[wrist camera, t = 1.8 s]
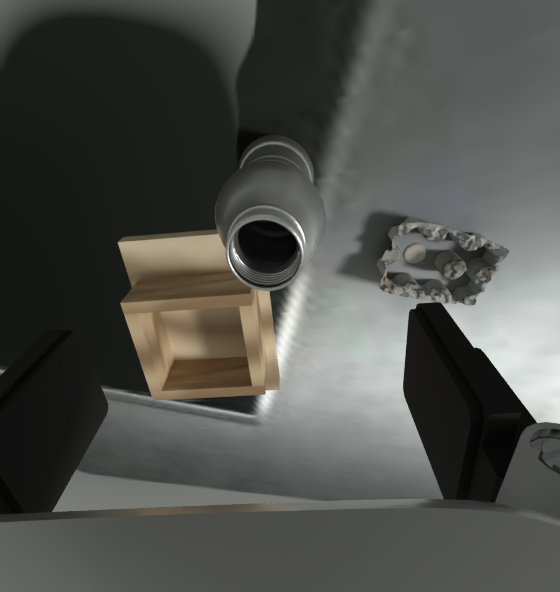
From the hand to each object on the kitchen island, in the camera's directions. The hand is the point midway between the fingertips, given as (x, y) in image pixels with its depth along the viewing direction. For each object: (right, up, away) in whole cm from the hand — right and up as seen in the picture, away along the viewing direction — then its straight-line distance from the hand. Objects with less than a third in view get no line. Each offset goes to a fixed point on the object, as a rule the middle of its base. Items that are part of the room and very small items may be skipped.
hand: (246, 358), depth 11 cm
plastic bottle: (+1, +13, +24) cm, 27 cm away
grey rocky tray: (+16, +6, +28) cm, 33 cm away
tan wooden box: (-7, -1, +32) cm, 32 cm away
